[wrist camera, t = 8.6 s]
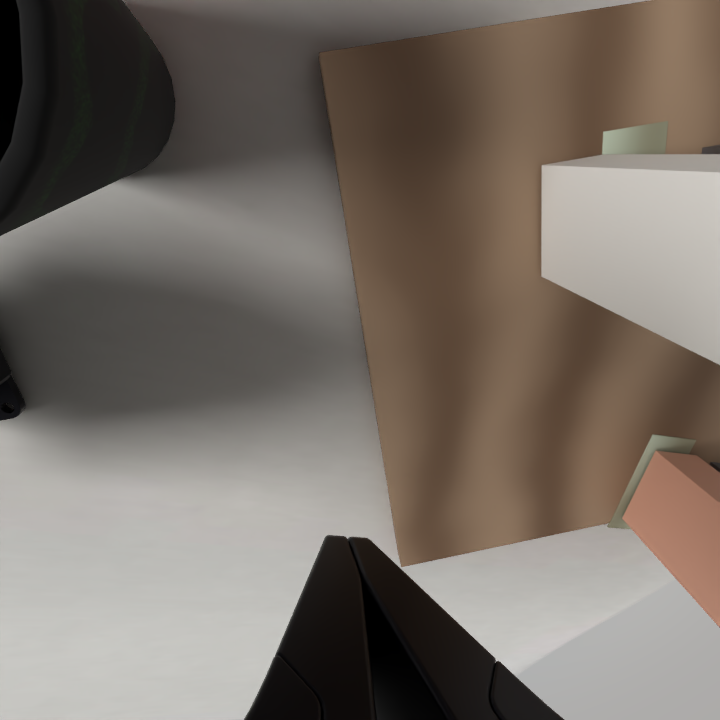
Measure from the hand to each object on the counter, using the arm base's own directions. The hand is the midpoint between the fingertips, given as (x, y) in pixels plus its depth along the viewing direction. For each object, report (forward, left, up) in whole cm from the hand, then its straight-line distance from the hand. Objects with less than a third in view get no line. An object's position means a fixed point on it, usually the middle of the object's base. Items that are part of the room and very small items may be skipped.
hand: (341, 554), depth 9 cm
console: (+11, -2, -13) cm, 17 cm away
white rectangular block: (+11, +3, -12) cm, 17 cm away
